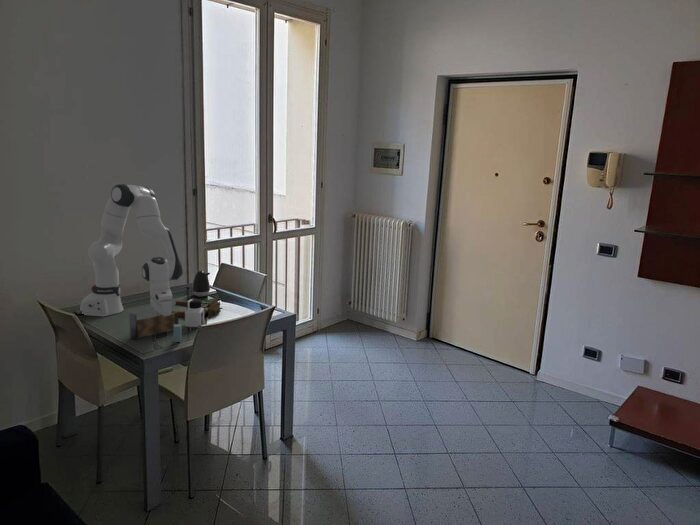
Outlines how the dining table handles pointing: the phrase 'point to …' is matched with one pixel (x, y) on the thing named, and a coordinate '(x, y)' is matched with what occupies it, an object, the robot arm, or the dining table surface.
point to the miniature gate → (208, 307)
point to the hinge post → (133, 326)
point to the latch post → (177, 332)
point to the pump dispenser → (201, 284)
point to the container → (194, 313)
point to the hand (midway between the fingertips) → (160, 319)
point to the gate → (156, 324)
